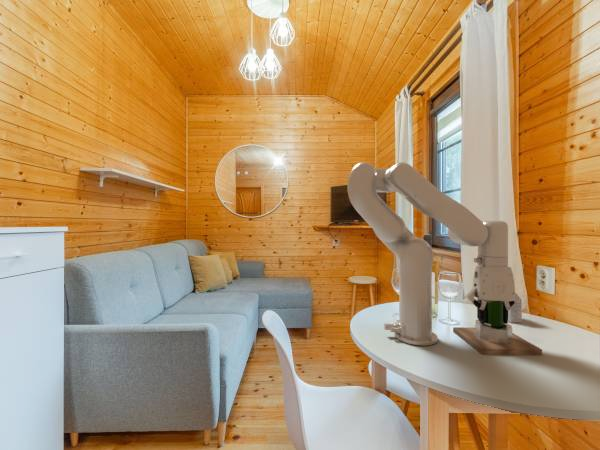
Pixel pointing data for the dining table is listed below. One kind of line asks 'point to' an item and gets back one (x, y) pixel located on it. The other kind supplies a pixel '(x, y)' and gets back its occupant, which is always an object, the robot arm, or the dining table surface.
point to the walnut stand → (485, 347)
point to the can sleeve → (494, 333)
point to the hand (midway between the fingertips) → (492, 321)
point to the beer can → (495, 314)
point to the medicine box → (515, 312)
